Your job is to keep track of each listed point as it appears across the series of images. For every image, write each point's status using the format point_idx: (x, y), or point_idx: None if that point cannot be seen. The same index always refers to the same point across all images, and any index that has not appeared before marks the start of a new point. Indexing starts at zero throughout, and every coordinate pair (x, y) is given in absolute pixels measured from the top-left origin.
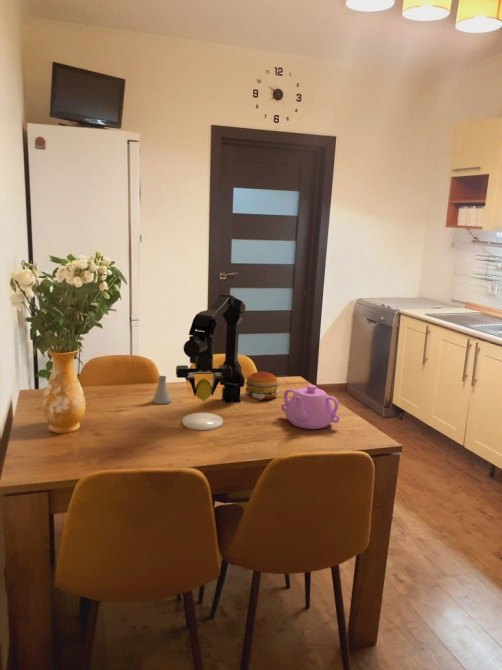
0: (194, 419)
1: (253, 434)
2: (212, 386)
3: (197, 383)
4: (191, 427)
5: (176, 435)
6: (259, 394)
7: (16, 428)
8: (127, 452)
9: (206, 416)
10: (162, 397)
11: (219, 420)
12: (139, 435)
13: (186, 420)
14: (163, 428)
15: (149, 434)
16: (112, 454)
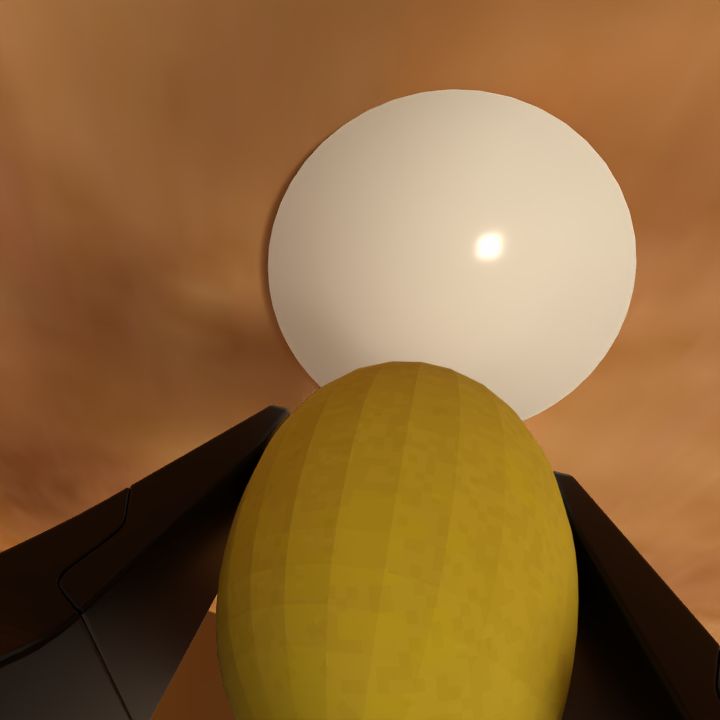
0: (369, 268)
1: (683, 552)
2: (582, 669)
3: (217, 647)
4: (323, 381)
5: (233, 423)
6: None
7: None
8: (56, 492)
9: (502, 223)
10: None
11: (573, 349)
12: (49, 365)
13: (300, 273)
14: (155, 312)
15: (94, 369)
16: (12, 487)
